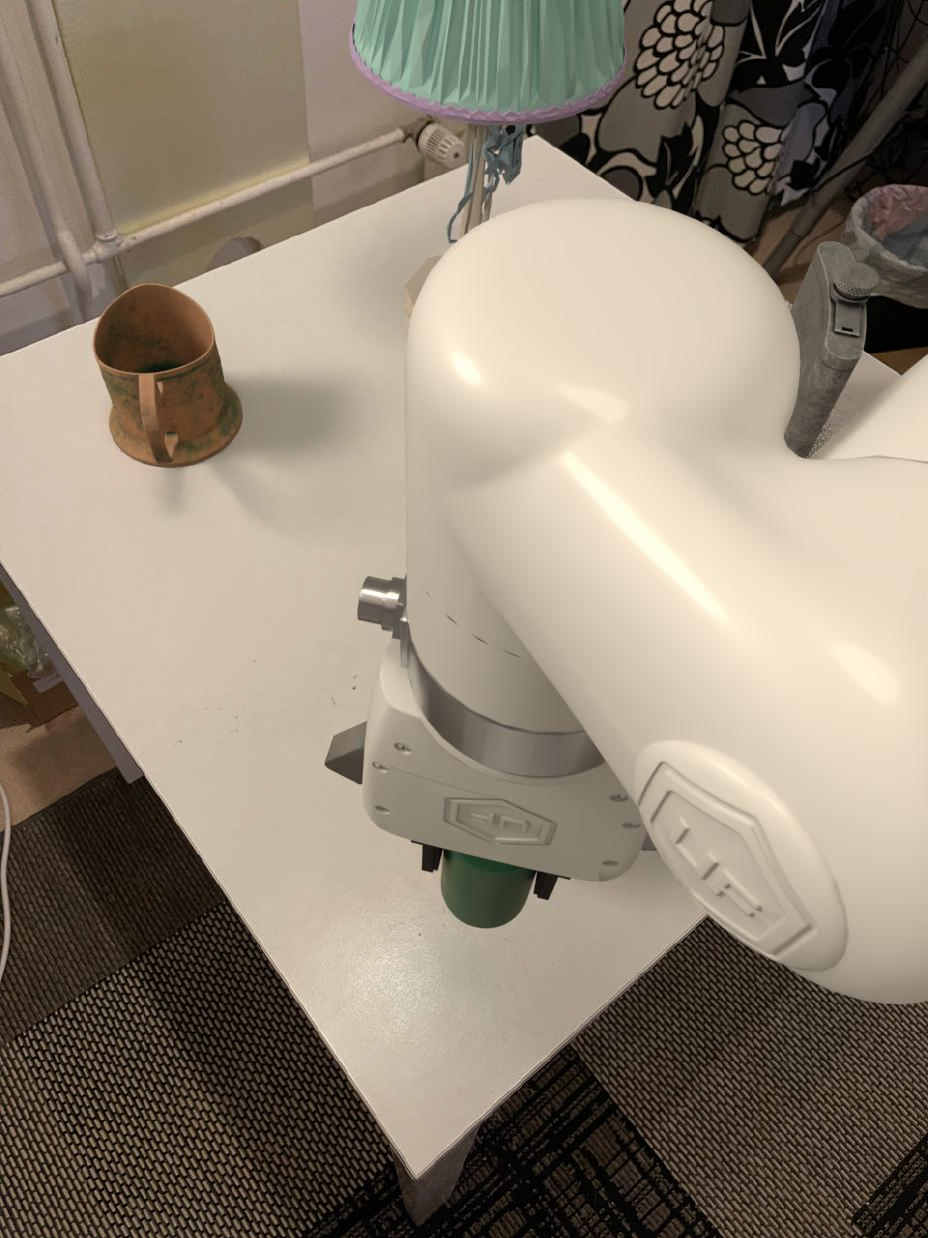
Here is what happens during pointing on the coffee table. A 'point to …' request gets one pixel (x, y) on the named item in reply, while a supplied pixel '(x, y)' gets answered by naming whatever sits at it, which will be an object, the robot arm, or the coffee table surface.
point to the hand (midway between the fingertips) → (491, 852)
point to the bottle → (483, 889)
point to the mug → (164, 378)
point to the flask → (827, 337)
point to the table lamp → (489, 75)
